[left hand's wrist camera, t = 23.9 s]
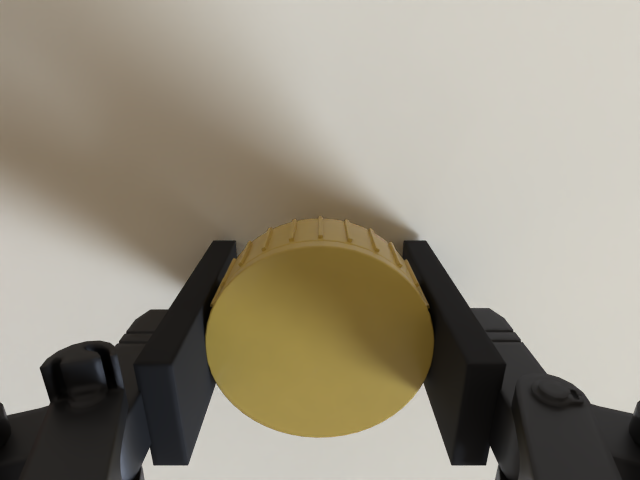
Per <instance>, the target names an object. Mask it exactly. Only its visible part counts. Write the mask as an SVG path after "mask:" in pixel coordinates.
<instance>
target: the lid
mask: <svg viewBox="0 0 640 480" xmlns="http://www.w3.org/2000/svg"><path fill="white" fill-rule="evenodd" d="M210 307H212V309H211V311H210V314H209V318H208V321H207V325H206V332H205V346H206V354H207V362H208V365H209V368H210V371H211V374H212V376H213V378H214V380H215V382H216V384H217V385H218V387H219V388H220V390H221V391H222V392H223V394H224V395H225V396H226V398H227V399H228V400H229V401H230V402H231V403H232V404H233V405H234V406H235V407H236V408H238V409H239V410H240V411H241V412H242V413H244V414H245V415H247V416H248V417H250V418H251V419H253V420H254V421H256V422H258V423H260V424H262V425H264V426H266V427H269V428H271V429H274V430H277V431H280V432H283V433H287V434H291V435H297V436H303V437H316V438H320V437H336V436H343V435H348V434H352V433H356V432H360V431H362V430H365V429H368V428H371V427H373V426H375V425H377V424H379V423H381V422H383V421H385V420H386V419H388V418H390V417H391V416H393V415H394V414H396V413H397V412H398V411H399V410H401V409H402V408H403V407H404V406H405V405H406V404H407V403H408V402H409V401H410V400H411V399H412V398H413V397H414V395H415V394H416V393H417V391H418V390H419V389H420V387H421V386H422V384H423V382H424V380H425V379H426V377H427V374H428V371H429V369H430V366H431V362H432V358H433V350H434V329H433V324H432V320H431V316H430V313H429V311H428V309H429V308H430V307H429V304H428V302H427V300H426V298H425V296H424V294H423V292H422V289H421V287H420V285H419V283H418V281H417V279H416V277H415V275H414V273H413V271H412V268H411V266H410V264H409V262H408V261H407V259H406V260H403V258H402V257H401V256H400V254H399V253H398V252H397V251H396V249H395V247H394V245H393V243H392V242H389V243H388V242H387V241H386V240H384V239H383V238H381V237H380V236H378V235H377V234H375V233H374V231H373V229H371V228H369V230H368V229H366V228H364V227H362V226H359V225H356V224H353V223H350V222H349V220H347V219H345V221H341V220H336V219H324V218H323V217H322V216H319V218H317V219H304V220H299V221H297V220H296V219H293V220H292V222H290V223H287V224H283V225H280V226H278V227H276V228H274V229H272V227H270V228H268V230H267V232H266V233H264V234H263V235H261V236H259V237H258V238H256V239H255V240H254V241H253V242H251V241H249V242H248V243H247V245H246V247H245V249H244V250H243V251H242V252H241V254H240V255H239V256H238V257H237V259H235V258H233V260H232V261H231V263H230V266H229V268H228V270H227V272H226V274H225V276H224V278H223V279H222V281H221V283H220V286H219V288H218V290H217V292H216V294H215V296H214V298H213V300H212V302H211V304H210Z"/></svg>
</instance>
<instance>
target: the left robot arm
mask: <svg viewBox="0 0 640 480" xmlns="http://www.w3.org/2000/svg"><path fill="white" fill-rule="evenodd" d="M233 258H235V259H237V253H236V241H213V242H212V244H211V245H210V247H209V248H208V250H207V251H206V253H205V254H204V256H203V258H202V259H201V261H200V262H199V264H198V265H197V267H196V268H195V270H194V271H193V273H192V274H191V276H190V277H189V279H188V281H187V282H186V284H185V285H184V287H183V288H182V290H181V291H180V293H179V294H178V296H177V297H176V299H175V300H174V302H173V303H172V305H171V307H170V308H169V310H149V311H148V312H146V313H145V314H143V315H142V316H140V317H139V318H137V319H136V320H135V321H134V322H133V324H132V325H131V326H130V328H129V329H128V330H127V333H126V334H124V335H123V337H122V338H121V339H120V341H119V344H117V345H116V346H113V345H112V344H111V343H108V342H104V341H86V342H82V343H78V344H74V345H71V346H69V347H66V348H64V349H62V350H60V351H58V352H56V353H55V354H53V355H52V356H50V357H49V358H48V359H46V361H45V362H44V363H43V364H42V366H41V367H40V370H41V373H42V377H43V380H44V383H45V386H46V390H47V393H48V396H49V399H50V405H49V406H46V407H43V408H39V409H34V410H30V411H25V412H21V413H16V414H12V415H6V412H5V409H4V407H3V404H1V403H0V480H144V474H143V469H142V463H143V461H144V458H145V456H146V454H147V452H148V450H149V448H150V450H151V455H152V460H153V465H188V464H189V461H190V458H191V455H192V452H193V449H194V446H195V443H196V440H197V437H198V434H199V431H200V429H201V426H202V423H203V420H204V417H205V414H206V411H207V408H208V405H209V402H210V399H211V396H212V393H213V390H214V387H215V384H216V382H215V380H214V378H213V376H212V374H211V371H210V368H209V365H208V362H207V354H206V346H205V332H206V325H207V321H208V318H209V314H210V311H211V309H212V307H210V304H211V302H212V300H213V298H214V296H215V294H216V292H217V290H218V288H219V286H220V283H221V281H222V279H223V278H224V276H225V274H226V272H227V270H228V268H229V266H230V263H231V261H232V260H233ZM406 259H407V261H408V262H409V264H410V266H411V268H412V271H413V273H414V275H415V277H416V279H417V281H418V283H419V285H420V287H421V289H422V292H423V294H424V296H425V298H426V300H427V302H428V304H429V307H430V308H429V309H428V311H429V313H430V316H431V320H432V324H433V329H434V350H433V358H432V362H431V366H430V369H429V371H428V374H427V377H426V379H425V380H424V382H423V383H424V386H425V389H426V392H427V395H428V397H429V400H430V403H431V406H432V409H433V412H434V415H435V418H436V421H437V424H438V427H439V430H440V433H441V436H442V439H443V442H444V444H445V447H446V450H447V453H448V456H449V459H450V462H451V465H486V463H487V458H488V453H489V448H490V446H491V449H492V451H493V453H494V455H495V457H496V459H497V462H498V469H497V473H496V478H495V480H640V401H639V402H637V405H636V408H635V411H634V413H633V414H632V413H627V412H623V411H618V410H614V409H609V408H604V407H600V406H596V405H593V404H590V402H589V400H588V399H587V397H586V396H585V394H584V393H583V392H582V391H581V390H579V389H578V388H577V387H576V386H574V385H573V384H571V383H569V382H567V381H565V380H563V379H561V378H559V377H556V376H552V375H549V374H547V373H546V372H545V371H544V369H543V368H542V367H541V366H540V364H539V363H538V362H537V360H536V359H535V358H534V356H533V355H532V354H531V352H530V351H529V350H528V349H527V347H526V346H525V345H524V343H523V342H521V339H520V338H519V337H518V336H517V334H516V333H515V332H513V329H512V328H511V326H510V325H509V324H508V323H507V321H506V320H505V319H504V318H503V317H502V316H500V315H499V314H497V313H496V312H494V311H493V310H491V309H490V308H470V307H469V306H468V304H467V303H466V301H465V300H464V298H463V297H462V295H461V294H460V292H459V290H458V289H457V287H456V286H455V284H454V283H453V281H452V280H451V278H450V277H449V275H448V274H447V272H446V271H445V269H444V267H443V266H442V264H441V263H440V261H439V260H438V258H437V257H436V255H435V254H434V252H433V251H432V249H431V248H430V246H429V245H428V243H427V241H404V247H403V260H406Z"/></svg>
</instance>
